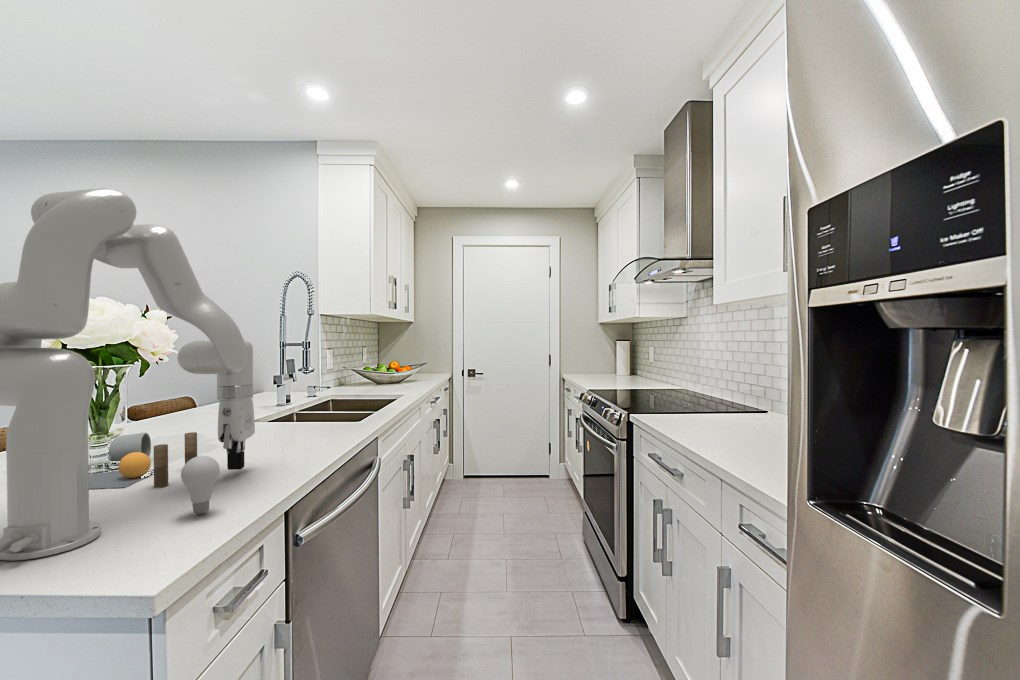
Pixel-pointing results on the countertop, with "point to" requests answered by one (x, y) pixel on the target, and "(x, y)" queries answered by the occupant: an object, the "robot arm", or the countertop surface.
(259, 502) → the countertop surface
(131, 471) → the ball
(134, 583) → the countertop surface
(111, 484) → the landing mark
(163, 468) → the gate post left
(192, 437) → the gate post right
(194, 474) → the lightbulb
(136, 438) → the ceramic mug
